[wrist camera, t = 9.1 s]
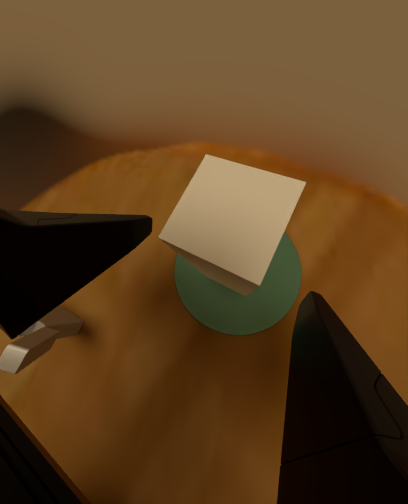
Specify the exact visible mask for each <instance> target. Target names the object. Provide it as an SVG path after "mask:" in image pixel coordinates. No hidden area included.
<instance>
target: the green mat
mask: <svg viewBox="0 0 408 504" xmlns="http://www.w3.org/2000/svg"><path fill="white" fill-rule="evenodd" d="M174 272H175V283H176V288H177V291H178V294H179V296H180V298H181V300H182V302H183V304H184V306H185V307H186V309H187V310H188V311H189V312H190V313H191V315H192V316H193V317H195V318H196V319H197V320H198V321H199V322H201V323H202V324H203V325H205V326H207V327H209V328H211V329H213V330H215V331H218V332H221V333H225V334H230V335H248V334H253V333H257V332H260V331H263V330H265V329H267V328H269V327H271V326H273V325H274V324H276V323H277V322H278V321H280V320H281V319H282V318H283V317H284V316H285V315H286V314H287V313H288V311H289V310H290V308H291V307H292V306H293V304H294V302H295V300H296V298H297V295H298V292H299V289H300V283H301V265H300V260H299V256H298V253H297V251H296V249H295V246H294V245H293V243H292V241H291V240H290V238H289V237H288V236H287V234H286V233H285V232H284V233H283V235H282V237H281V240H280V242H279V244H278V246H277V249H276V251H275V253H274V255H273V257H272V260H271V262H270V264H269V266H268V269H267V271H266V273H265V275H264V278H263V280H262V282H261V284H260V286H259V287H258V288H256V289H255V290H253V291H252V292H251V293H249V294H248V295H247V296H244V295H242V294H240V293H238V292H236V291H234V290H232V289H230V288H228V287H226V286H224V285H222V284H220V283H218V282H216V281H214V280H212V279H210V278H208V277H207V276H205V275H204V274H203V273H202V272H200V271H199V270H198V269H197V268H195V267H194V266H193V265H192V264H190V263H189V262H188V261H187V260H185V259H184V258H183V257H182V256H180V255H179V254H177V257H176V262H175V271H174Z"/></svg>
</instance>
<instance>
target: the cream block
mask: <svg viewBox="0 0 408 504" xmlns="http://www.w3.org/2000/svg"><path fill="white" fill-rule="evenodd" d="M305 184H306V182H303V181H299V180H296V179H292V178H289V177H285V176H282V175H278V174H274V173H271V172H267V171H264V170H260V169H257V168H253V167H250V166H246V165H242V164H239V163H235V162H232V161H228V160H225V159H221V158H217V157H214V156H210V155H207V154H206V156H205V157H204V159H203V161H202V163H201V164H200V166H199V168H198V169H197V171H196V173H195V175H194V176H193V178H192V180H191V182H190V183H189V185H188V187H187V189H186V190H185V192H184V194H183V195H182V197H181V199H180V201H179V202H178V204H177V206H176V208H175V209H174V211H173V213H172V214H171V216H170V218H169V220H168V221H167V223H166V225H165V227H164V228H163V230H162V232H161V233H160V235H159V237H158V238H159V239H161V240H162V241H163V242H164V243H166V244H167V245H168V246H169V247H171V248H172V249H173V250H174V251H176V252H177V253H178V254H179V255H180V256H182V257H183V258H184V259H185V260H187V261H188V262H189V263H190V264H192V265H193V266H194V267H195V268H197V269H198V270H199V271H200V272H202V273H203V274H204V275H205V276H207V277H208V278H210V279H212V280H214V281H216V282H218V283H220V284H222V285H224V286H226V287H228V288H230V289H232V290H234V291H236V292H238V293H240V294H242V295H244V296H247V295H248V294H249V293H251V292H252V291H253V290H255V289H256V288H258V287H259V286H260V284H261V282H262V280H263V278H264V275H265V273H266V271H267V269H268V266H269V264H270V262H271V260H272V257H273V255H274V253H275V251H276V249H277V246H278V244H279V242H280V240H281V237H282V235H283V233H284V231H285V228H286V226H287V224H288V222H289V219H290V217H291V215H292V213H293V211H294V208H295V206H296V204H297V202H298V199H299V197H300V195H301V193H302V190H303V188H304V186H305Z"/></svg>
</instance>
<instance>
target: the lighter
mask: <svg viewBox="0 0 408 504" xmlns="http://www.w3.org/2000/svg"><path fill="white" fill-rule="evenodd" d="M83 323H84V322H83V320H82V319H80V318H79V317H77V316H76V315H74V314H72V313H71V312H69V311H68V310H66V309H64V308H63V307H56V308H55V309H53V310H52V311H51V312H49V313H48V314H47V315H45V316H44V317H43V318H41V319H40V320H39V321H37V322H36V323H35V324H33V325H32V326H31V327H29V328H28V329H27V330H25V331H24V332H23V333H21V334H20V335H19V336H24V337H22V338H20V339H18V340H16V341H14V342H12V343H10V344H9V345H8V346H7V347H6V349H5V350H4V352H3V354H2V355H1V357H0V370H3V371H6V372H10V373H13V374H17V373H18V372H19V371H21V370H22V369H24V368H25V367H26V366H28V365H29V364H31V363H32V362H33V361H35V360H36V359H38V358H39V357H40V356H42V355H43V354H44V353H46V352H47V351H49V350H50V349H51V347H52V346H53V344H54V342H55V340H56V339H59V338H64V337H69V336H74V335H77V334H78V332H79V330H80V328H81V327H82V325H83ZM19 336H17V337H19Z"/></svg>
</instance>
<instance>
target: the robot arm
mask: <svg viewBox="0 0 408 504" xmlns="http://www.w3.org/2000/svg"><path fill="white" fill-rule="evenodd" d="M151 232H152V218H151V217H149V216H147V215H118V214H77V213H49V212H31V211H14V210H6V209H0V328H1V329H2V330H3V331H4V332H5V333H6V334H7V335H8V336H9V337H10V338H11V339H14V338H16V337H17V336H19V335H20V334H21V333H23V332H24V331H25V330H27V329H28V328H29V327H31V326H32V325H33V324H35V323H36V322H37V321H39V320H40V319H41V318H43V317H44V316H45V315H47V314H48V313H49V312H51V311H52V310H53V309H55V308H56V307H57V306H59V305H60V304H61V303H63V302H64V301H65V300H67V299H68V298H69V297H71V296H72V295H73V294H75V293H76V292H77V291H79V290H80V289H81V288H83V287H84V286H85V285H87V284H88V283H89V282H91V281H92V280H93V279H95V278H96V277H97V276H99V275H100V274H101V273H103V272H104V271H105V270H107V269H108V268H109V267H111V266H112V265H113V264H115V263H116V262H117V261H119V260H120V259H121V258H123V257H124V256H126V255H127V254H128V253H130V252H131V251H132V250H133V249H135V248H136V247H137V246H138V245H139V244H140V243H141V242H142V241H143V240H144V239H146V238H147V237H148V236H149V235H150V234H151ZM0 504H91V503H90V502H89V501H88V500H87V498H86V497H85V496H84V495H83V494H82V492H81V491H80V490H79V489H78V488H77V486H76V485H75V484H74V483H73V482H72V480H71V479H70V478H69V477H68V476H67V474H66V473H65V472H64V471H63V470H62V468H61V467H60V466H59V465H58V464H57V462H56V461H55V460H54V459H53V458H52V456H51V455H50V454H49V453H48V452H47V450H46V449H45V448H44V447H43V446H42V444H41V443H40V442H39V441H38V440H37V438H36V437H35V436H34V435H33V434H32V433H31V431H30V430H29V429H28V428H27V427H26V425H25V424H24V423H23V422H22V421H21V419H20V418H19V417H18V416H17V415H16V413H15V412H14V411H13V410H12V409H11V407H10V406H9V405H8V404H7V403H6V401H5V400H4V399H3V398H2V397H1V395H0ZM277 504H408V406H407V404H406V403H405V402H404V401H403V399H402V398H401V397H400V396H399V394H398V393H397V392H396V391H395V389H394V388H393V387H392V385H391V384H390V383H389V382H388V380H387V379H386V378H385V376H384V375H383V374H381V371H380V370H379V369H378V367H377V366H376V365H375V364H374V362H373V361H372V360H371V358H370V357H369V356H368V355H367V353H366V352H365V351H364V349H363V348H362V347H361V346H360V344H359V343H358V342H357V340H356V339H355V338H354V337H353V335H352V334H351V333H350V331H349V330H348V329H347V328H346V326H345V325H344V324H343V322H342V321H341V320H340V319H339V317H338V316H337V315H336V313H335V312H334V311H333V310H332V308H331V307H330V306H329V304H328V303H327V302H326V301H325V299H324V298H323V297H322V295H320V294H318V293H316V292H314V291H310V292H309V293H308V294H307V296H306V297H305V298H304V299H303V301H302V302H301V304H300V306H299V309H298V313H297V318H296V322H295V326H294V330H293V335H292V345H291V356H290V367H289V378H288V389H287V400H286V411H285V422H284V433H283V444H282V455H281V466H280V475H279V486H278V497H277Z"/></svg>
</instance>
